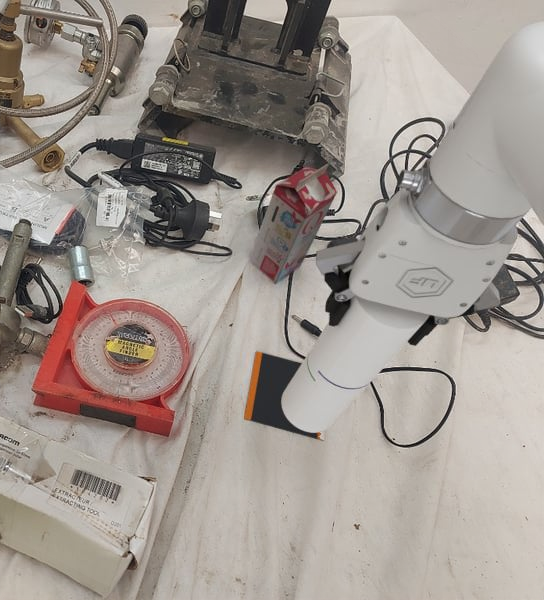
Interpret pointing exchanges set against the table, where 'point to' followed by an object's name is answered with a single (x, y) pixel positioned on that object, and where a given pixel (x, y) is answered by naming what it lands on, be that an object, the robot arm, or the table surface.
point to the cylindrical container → (346, 362)
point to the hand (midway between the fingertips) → (372, 323)
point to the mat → (271, 392)
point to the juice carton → (292, 222)
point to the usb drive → (342, 242)
